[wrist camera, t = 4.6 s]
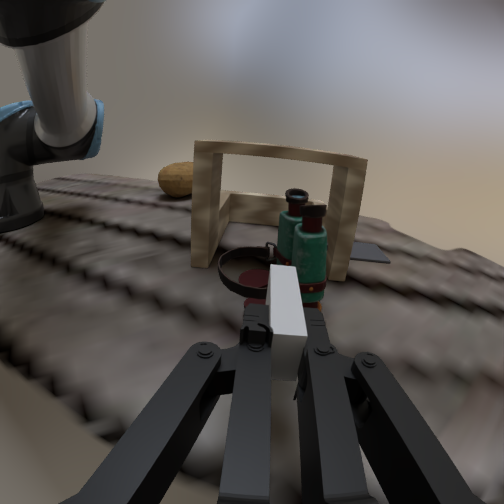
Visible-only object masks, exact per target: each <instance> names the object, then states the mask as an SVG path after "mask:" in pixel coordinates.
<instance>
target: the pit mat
mask: <svg viewBox="0 0 504 504" xmlns="http://www.w3.org/2000/svg"><path fill="white" fill-rule="evenodd" d="M350 259H351V260H361V261H371V262H381V263H390V262H391V261H390V260H389V259H388V258H387V257H386V256H385V254H384V253H383V252H382V251H381V250H380V249H379V248H378V247H377V245H376V244H368V243H359V242H353V247H352V251H351V256H350Z"/></svg>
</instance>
